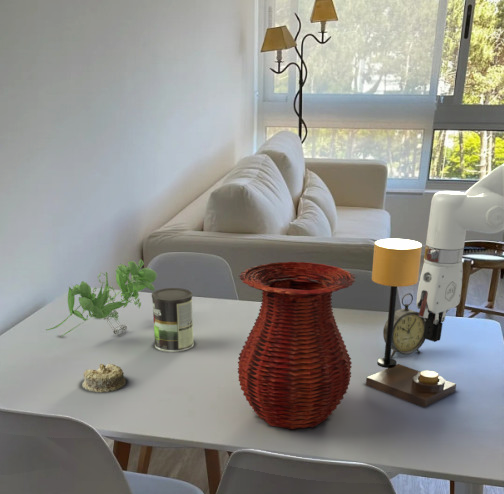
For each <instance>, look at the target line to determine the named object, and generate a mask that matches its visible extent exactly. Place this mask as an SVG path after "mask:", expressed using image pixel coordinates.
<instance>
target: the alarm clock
mask: <svg viewBox="0 0 504 494" xmlns="http://www.w3.org/2000/svg"><path fill="white" fill-rule="evenodd" d="M408 295H409V296H410V297H411V301H410V302H409V303H404V302H403V301H404V299H405V297H406V296H408ZM413 300H414V296H413V294H412V293H409V292H408V293H405V294H404V295H402V298H401V304H402V306H403V307H404V308H399V309H397V310H395V316H394V327H393V337H392V348H391V359H393V357H394V356H395V354H396V353H398V354H401V355H410V354H413V353H415V352H417V354H420V353H421V351H420V350H419V349H420V348H421V347H422V346H423V344H424V343H425V341H426V339H424V330H425V322H426V321H424V318H422V317H419V311H415V310H413V309H410V308H409V306H410V305H412V303H413ZM387 323H388V319H386V321H385V323H384V326H383V332H382V334H383V335H382V336H383V341H384V343H385V344H386V334H387Z"/></svg>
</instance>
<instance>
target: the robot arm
mask: <svg viewBox="0 0 504 494" xmlns="http://www.w3.org/2000/svg"><path fill="white" fill-rule="evenodd" d="M427 225H428V226H427V233H426V239H425V240H426V241H425V249H424V256H423V257H424V258H423V265H422V269H421V273H420V276H419V280H418V287H417V292H416V303H415V305H416V308H417V309H418V310H419V311H418V312H419V317H422V318H424V321H426V322H425V330H424V339H425V340H428V341H431V342H434V343H436V342H438V341H440V340H441V337H442V330H443V323H444V322H445V320H446V315H447V313H448V311H450V310H452V309H453V308H456V307H457V306H458V305H460V302H461V297H462V295H461V294H462V287H463V276H464V275H463V273H464V270H463V269H464V268H463V266H464V265H463V255H464V249H465V244H466V243H465V242H466V236H467V231H468V232H477V233H481V234H497V233H500V232H502V231H504V163H502V164H500V165H499V166H497V167H495V168H494V169H493V170H491V171H490V172H489V173H487V174H486V175H484V176H483V177H482V178H481V179H480V180H478V181H476V183H474V184H472V186H470V187H469V189H467V190H466V191H465V192H461V191H454V190H443V191H437V192H435V193H434V194H433V196H432V198H431V203H430V210H429V217H428V224H427Z"/></svg>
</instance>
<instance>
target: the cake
mask: <svg viewBox="0 0 504 494" xmlns="http://www.w3.org/2000/svg"><path fill="white" fill-rule="evenodd" d="M123 371H124V370H123V368H121V367H120V366H118V365H116V364H112V363H107V364H106V365H105V364H103V363H100V364H99V368H98V369H92V368H91V369H86V370H84V373H83V374H82V375H83V381H82V382H81V386H82V388H83V389H85V390H88V391H89V392H95V393H104V392H105V393H108V392H114V391H117V390H119V389H121V388H123V387H125V385H126V384H127V380H126V378H125V376H124V372H123Z"/></svg>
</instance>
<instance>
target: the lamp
mask: <svg viewBox="0 0 504 494" xmlns="http://www.w3.org/2000/svg"><path fill="white" fill-rule="evenodd" d="M422 247H423V245H422V243H421V242H419V241H416V240H412V239H406V238H405V239H404V238H383V239H379V240H376V241H374V245H373V257H372V269H371V270H372V271H371V281H372V282H373V283H375V284H378V285H382V286H386V287H390V293H389V301H388V302H389V304H388V313H387V320H388V323H387V334H386V343H385V345H384V357H381V358H379V359H377V360H376V361H377V362H376V364H377V366H378V367H380V368H383V369H387V368H393V367H395V366H396V365H397V364H398V363H397V360H396V359H394V358H391V354H392V349H391V348H392V337H393V327H394V316H395V312H396V306H397V305H396V304H397V296H398V287H401V288H402V287H411V286H414V285H417V284H419V278H420V276H419V275H420V265H421V259H422V249H423V248H422Z"/></svg>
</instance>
